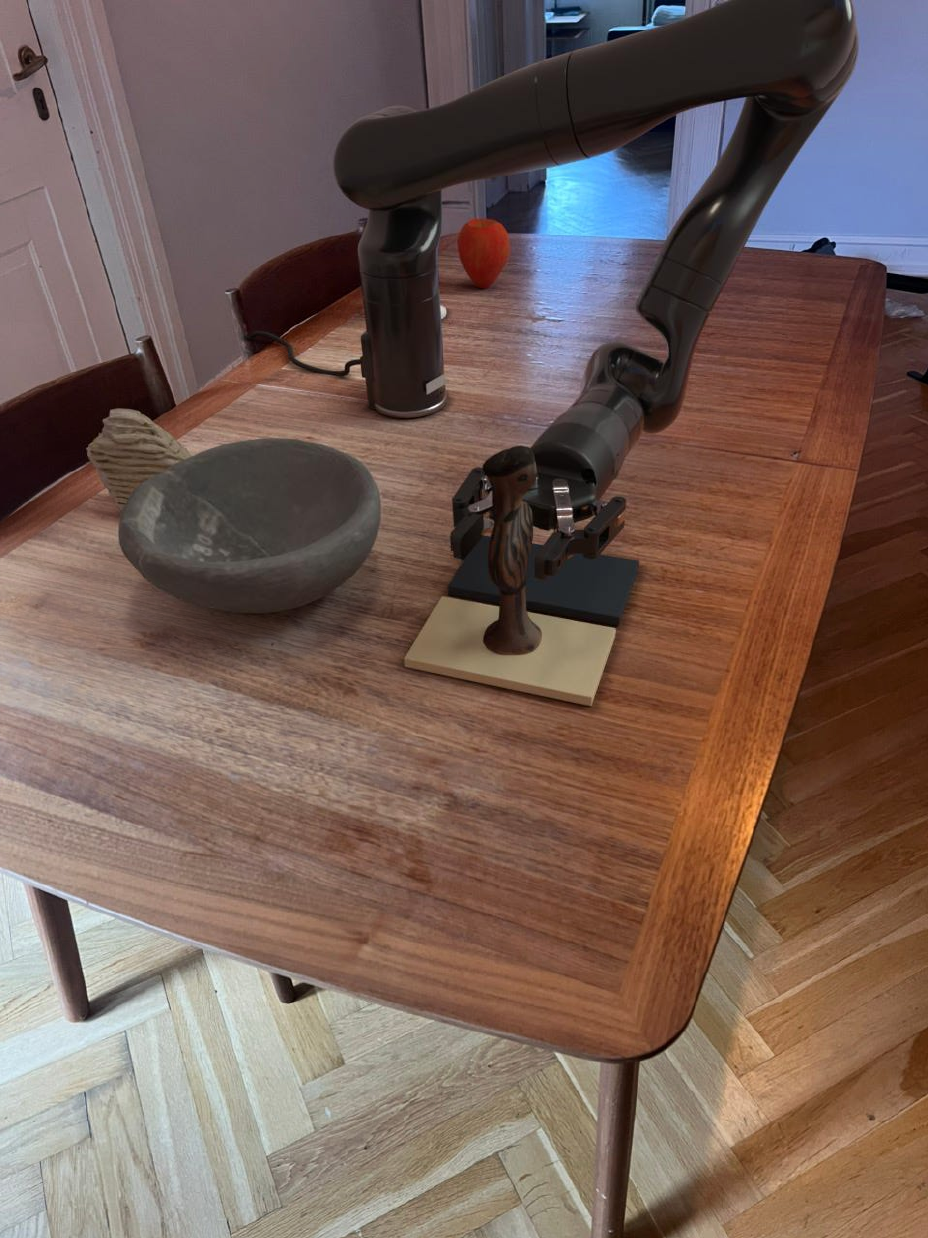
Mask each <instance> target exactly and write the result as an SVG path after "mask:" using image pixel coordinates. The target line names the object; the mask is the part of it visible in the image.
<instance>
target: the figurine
mask: <svg viewBox="0 0 928 1238" xmlns="http://www.w3.org/2000/svg"><path fill="white" fill-rule="evenodd" d="M482 468H483V471H484V474H485V475H486V477H488V479H489V481H490V484H491V487H492V505H493V506H492V507H493V516H494V520H495V521H494V527H493V530H492V531H491V534H490V536H491V540H490V542H489V553H488V568H489V575H490V579H491V581H492V582H493V584H494V585H495V586H496V587H497V588H499V589H500V598H499V604H498V605H499V606H498V607H499V619H498V620H496V621H494V622H493V623H492V624H490V625H489V626H488V627H487V629H486V631H485V634H484V637H483V643H484V644H485V646H486V648H488V649H489V650H490V651H492V652H494V653H496V654H502V655H513V654H514V655H519V654H527V653H530V652H533V651H534V650H535V649H536V648H537V647H538V646H539V644H540V642H541V639H542V632H541V629H540V628H539V626H538V625H536V624H535V623H534V622H532V621H531V619H530V618H529V616H528V614H527V612H528V611H527V610H528V609H526V568H527V562H528V558H529V554H530V551H531V545H532V543H533V539H534V526H533V519H532V510H531V508H530V506H529V504H528V503H526V502H524V501H522V499H523V496H524V495H525V493H526V492H527V491H528V490H529V489H530V488H531V486H532V485H533V484H534V483H535V481H536V478H537V469H536V463H535V458H534V454H533V451H532V450H531V449H530V446H526V445H514V446H512V447H510V448H506V449H503V450H500V451H498V452H496V453H495V454H492V456H490V457H489V458H487V459H486V460H485V461H484V462H483V464H482Z"/></svg>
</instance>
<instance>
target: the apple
mask: <svg viewBox="0 0 928 1238" xmlns="http://www.w3.org/2000/svg"><path fill="white" fill-rule="evenodd" d="M456 245H457V249H458V250H457V251H458V256H459V260H460V263H461V264H462V267H463V270H464V271H465V273H466V274H467V276H468V277H469V280H471V282H472V283H473V284H474V286H475V287H477V288H478V289H484V290H485V289H488V288H490V287H491V286H492V285H493V284H494V283H495V282H496V280H497V278H498V277H499V276H500V275H501V272H502V271H503V269H504V268H505V266H506V264H507V262H508V260H509V258H510V254H511V241H510V237H509V235H508V232H507V230H506V229H505V227H504V226H503V224H502V223H500V222H498V221H496V220H495V219H489V218H483V217H482V218H473V219H470V220H469V221H466V223H465V224H463V226H462V227H461V229H460V231H459V233H458V238H457V241H456Z"/></svg>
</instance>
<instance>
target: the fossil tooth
mask: <svg viewBox="0 0 928 1238" xmlns="http://www.w3.org/2000/svg"><path fill="white" fill-rule="evenodd" d="M102 423H103V428H102V429H101V430H102V431H101V432H99V433H98V436H97V437H95V438H94V439H93V440H92V442H90V443H89V444H88V447H86V448H85V450H86V451H87V452H86V454H87V458H88V460H89V461H90V462H91V463H92V465H93V467H94V468H96V469H97V474H98V478H99V479H100V481H101V483H102V485H103V487H104V488H106V489H107V490H108V495H109V496H110V498H112V499H113V501H114V504H115V505H116V506H117V508H118V509H120V510H121V511H122V509H123V507H124V505H125V504H126V502H127V500H128V498H129V496H130V495H131V493H132V491H133V490H134V489H135V488H136V487H137V486H139V485H140V484H141V483H143V482H144V481H146V480H148V479H149V478H151V477H153V476H155V475H158V474H160V473H162V472H165V471H166V470H167V469H168V468H169V467H171V466H172V465H174V464H176V463H178V462H180V461H182V460H185V459H188V458H190V457H192V456H193V454H191V452H190V451H189V450H188V449H187V448H185V447H184V446H183V445H182V444H181V443H180V441H178V439H176V438H175V437H173V436H172V435H171V433H169V432H168V431H166V430H165V429H164V428H162V427H161V426H160V425H158V424H156V422H153V420H152V419H151V418H150V417H148V416H146V415H145V414H144V413H142V412H140V411H139V410H135V409H131V408H119V407H118V408H113V409H110V410H109V415H108V416H107V417H106V418H103V419H102Z"/></svg>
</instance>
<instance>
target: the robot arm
mask: <svg viewBox="0 0 928 1238" xmlns="http://www.w3.org/2000/svg"><path fill="white" fill-rule="evenodd" d="M854 7H855V6H854V3H853V0H726V1H723V2H720V3H719V4H716V5H713V6H712V7H709V8H707V9H705V10H702V11H700V12H697V13H695V14H692V15H689V16H688V17H687V16H686V17H685V18H682V19H679V20H676V21H673V22H670V23H666V24H662V25H659V26H656V27H652V28H648V29H644V30H642V31H638V32H634V33H631V34H628V35H625V36H622V37H621V36H620V37H618V38H615V39H612V40H608V41H605V42H601V43H597V44H595V45H590V46H586V47H583V48H579V49H576V50H572V51H569V52H566V53H562V54H559V55H556V56H553V57H549V58H547V59H543V60H540V61H537V62H534V63H532V64H529V65H527V66H523V67H522V68H519V69H517V70H514V71H512V72H509V73H507V74H505V75H502V76H501V77H498V78H496V79H494V80H491V81H490V82H488V83H486V84H483V85H482V86H479V87H477V88H476V89H473V90H472V91H470V92H468V93H465V94H463V95H462V96H460V97H457V98H455V99H453V100H451V101H449V102H446V103H443V104H440V105H437V106H433V107H429V108H424V109H420V110H416V109H414V108H412V107H410V106H407V105H406V106H405V105H390V106H387V107H383V108H382V109H379V110H376V111H373V112H371V113H368V114H367V115H364V116H362V117H360V118H358V119H356V120H355V121H353V123H351V124H349V126H348V127H347V128H346V129H345V131H344V132H343V133H342V134H341V136H340V137H339V139H338V141H337V142H336V143H337V144H336V145H335V150H334V153H333V157H332V171H333V177H334V180H335V182H336V184H337V186H338V188H339V189H340V191H341V192H342V194H343V195H344V196H345V197H346V198H348V200H349V201H351V202H352V203H354V204H355V205H357V207H358V206H359V207H361V208H363V209H366V210H368V215H367V220H366V225H365V228H364V231H363V233H362V235H361V238H360V239H359V242H358V245H357V259H358V267H359V268H358V269H359V276H360V284H361V285H360V286H361V294H362V302H363V312H364V322H365V329H366V330H365V331H364V332H363V333H362V334H361V336H360V344H361V345H360V347H361V355H360V357H359V358H356V359H351V360H348V361H347V362H346V363H345V364H344V369H343V370H329V369H323V368H319V367H315V366H312V365H309V364H307V363H304V362H302V361H299V360H298V359H296V358H295V355H294V351H293V350H294V349H293V347H292V345H291V344H290V343H289V342H288V341H287V340H285V339H283V338H281V337H279V336H277V335H275V334H273V333H270V332H268V331H263V330H256V331H255V330H254V331H252V332H251V333H250V334H249V335H248V336H247V339H246V340H247V341H248V340H249V341H252V340H253V339H254V338H256V337H265V338H268V339H270V340H271V341H275V342H276V343H279V344H280V345H282V346H283V347H285V348H286V350H287V357H288V359H289V361H290V362H291V363H292V364H293V365H294V366H296V367H298V368H301V369H302V370H306V371H309V372H311V373H316V374H319V375H328V376H335V377H345V376H348V375H349V374H350V371H351V367H354V366H359V365H360V373H361V378H363V379H364V380H365V381H364V382H365V388H366V396H367V397H366V398H367V406H368V409H372V410H376V411H377V412H378V413H379V414H382V415H384V416H388V417H391V418H399V419H412V418H420V417H425V416H428V415H431V414H434V413H436V412H438V411H440V410H441V409H442V408H444V407H445V405H446V403H447V391H446V384H447V383H446V373H445V363H444V362H445V361H444V360H445V359H444V343H443V328H442V319H441V308H440V305H441V293H440V276H439V275H440V274H439V256H438V252H439V251H438V250H439V245H440V241H441V236H442V231H443V191H442V190H444V189H447V188H450V187H453V186H457V185H460V184H465V183H469V182H474V181H475V182H476V181H481V180H488V179H494V178H502V177H508V176H514V175H519V174H525V173H530V172H535V171H539V170H540V171H541V170H545V169H551V168H555V167H560V166H565V165H568V164H572V163H577V162H582V161H584V160H589V159H592V158H593V159H594V158H596V157H598V156H602V155H605V154H607V153H610V152H613V151H615V150H617V149H620V148H621V147H624V146H625V145H627V144H629V143H630V142H632V141H634V140H636V139H637V138H639V137H641V136H642V135H644V134H645V133H647V132H649V131H650V130H652V129H654V128H655V127H657V126H658V125H660V124H662V123H664V122H665V121H666V120H668V119H670V118H672V117H675V116H677V115H679V114H682V113H684V112H687V111H689V110H693V109H696V108H700V107H702V106H703V107H704V106H708V105H713V104H717V103H718V104H719V103H723V102H728V101H732V100H737V99H744V103H743V105H742V108H741V112H740V114H739V117H738V120H737V121H736V125H735V127H734V130H733V132H732V134H731V136H730V139H729V141H728V142H727V145H726V147H725V149H724V151H723V152H722V154H721V156H720V158H719V160H718V161H717V163H716V164H715V166H714V168H713V170H712V171H711V172H710V174H709V175H708V176H707V178H706V180H705V181H704V182H703V184H702V185H701V187H700V188H699V190H698V191H697V192H696V193H695V195H694V196H693V197H692V199H691V200H690V201H689V203H688V204H687V206H686V207H685V208H684V210H683V211H682V213H680V216H679V217H678V218H677V220H676V222H675V223H674V225H673V227H672V229H671V230H670V232H669V234H668V236H667V237H666V239H665V241H664V243H663V245H662V247H661V249H660V251H659V253H658V255H657V257H656V259H655V262H654V263H653V266H652V268H651V269H650V272H649V273H648V275H647V278H646V280H645V283H644V284H643V286H642V288H641V291H640V292H639V295H638V297H637V300H636V302H635V313H636V315H637V317H638V318H639V319H640V320H641V321H643V323H645V324H646V325H647V326H648V327H650V328H652V329H653V330H654V331H655V332H657V333H658V334H659V335H660V336H661V337H662V339H663V340H664V342H665V345H666V351H667V353H666V354H667V355H666V359H665V360H662V359H661V358H659V357H657V356H655V355H653V354H650V353H649V352H646V351H644V350H642V349H640V348H638V347H636V346H633V345H632V344H630V343H628V342H624V341H621V340H612V341H607V342H605V343H603V344H601V345H599V346H598V347H597V348H596V349H595V350H594V351H593V352H592V354H591V355H590V357H589V359H588V360H587V363H586V366H585V368H584V371H583V374H582V378H581V382H580V390H579V394H578V396H577V398H576V399H575V401H573V402H572V404H571V405H570V406H569V407H568V409H566V410H565V411H564V412H562V413H561V414H560V415H559V416H558V417H556V418H555V419H554V420H553V421H552V422H551V423H550V425H549V426H548V427H547V428H546V429H544V432H543V433H542V434H540V435H539V437H538V438H537V439H536V440H535V441H534V443H532V444H531V446H529V448H530V449H531V450H532V451H533V454H534V458H535V463H536V469H537V478H536V481H535V483H534V484H533V485H532V486H531V488H530V489H529V490H528V491H527V492H526V493H525V495H524V496H523V499H522V501H524V502H526V503H528V504H529V506H530V508H531V510H532V519H533V528H536V529H539V530H543V531H547V532H550V531H551V530H553V532H552V533H551V534H550V535H549V537H548V539H547V540H546V541H545V543H544V544H542V545H543V547H542V548H541V549H540V551H539V552H538V553H537V555H536V558H535V571H534V577H535V579H538V580H542V581H545V580H546V578H547V577H548V575H549V576H554V575H555V574H557V573H558V571H559V570H560V568H561V567H562V565H563V564H564V563H565V561H566V560H567V558H571V557H573V555H574V554H576V553H580V554H583V557H584V558H586V559H595V558H597V557H598V556H599V555H600V554H602V552H603V551H604V550H605V549H607V547H608V546H609V545H610V544H611V543H612V542H613V541H614V540H615V538H616V537H617V536H618V535H619V534H620V532H622V530H623V529H624V528H625V521H626V513H627V511H626V510H627V499H626V498H625V497H624V496H613V497H612V498H610V500H609V501H605V500H602V497H603V496H604V495H605V493H606V492H607V490H608V489H609V487H610V486H611V484H613V481H615V480H616V479H617V478H618V476H619V474H620V471H621V469H622V467H623V466H624V463H625V460H626V458H627V457H628V455H629V454H630V452H631V451H632V449H633V448H634V447H635V445H636V444H637V442H638V441H639V439H640V438H641V436H642V433H645V434H650V435H655V434H659V433H661V432H663V431H665V430H666V429H668V428H669V427H670V426H671V425H673V424H674V422H675V421H676V420H677V418H678V417H679V414H680V413H681V410H682V408H683V405H684V400H685V397H686V393H687V388H688V382H689V378H690V373H691V369H692V363H693V359H694V356H695V352H696V349H697V347H698V343H699V340H700V338H701V334H702V332H703V329H704V327H705V325H706V323H707V321H708V319H709V318H710V315H711V312H713V309H714V307H715V305H716V303H717V302H718V300H719V297H720V295H721V293H722V292H723V289H724V287H725V286H726V284H727V282H728V280H729V278H730V276H731V274H732V272H733V270H734V268H735V266H736V264H737V262H738V261H739V258H740V256H741V254H742V252H743V250H744V248H745V246H746V244H747V242H748V241H749V239H750V236H751V235H752V233H753V231H754V229H755V227H756V225H757V223H758V222H759V219H760V217H761V215H762V214H763V212H764V210H765V208H766V206H767V205H768V203H769V202H770V199H771V197H772V196H773V194H774V192H775V191H776V189H777V187H778V186H779V184H780V182H781V181H782V179H783V178H784V176H785V175H786V173H787V171H788V170H789V169H790V166H791V165H792V163H793V162H794V160H795V159H796V157H797V156H798V154H799V153H800V151H801V149H802V148H803V147H804V145H805V144H806V142H807V141H808V139H809V138H810V137H811V135H812V134H813V133H814V131H815V130H816V128H817V127H818V125H819V124H820V123H821V121H822V120H823V119H824V117H825V116H826V114H827V113H828V111H829V110H830V108H831V107H832V105H833V104H834V103H835V101H836V100H837V98H838V97H839V96H840V94H841V93H842V91H843V90H844V88H845V87H846V85H847V84H848V82H850V79H851V77H852V75H853V73H854V71H855V68H856V64H857V61H858V56H859V43H860V39H859V30H858V27H857V26H858V25H857V21H856V20H857V18H856V12H855V8H854ZM451 504H452V506H451V507H452V523H453V527H454V528H453V529H452V530H451V531H450V535H449V541H450V542H449V543H450V552H452V555H453V556H452V557H453V559H455V560H458V561H463V560H464V559H465V558H466V557H467V555H468V554H469V553H470V552H471V551H472V549H473V548H474V547H475V546H476V545H477V543H478V542H479V541H480V540H481V539H482V535H485V536H486V535H487V534H489V533H492V530H493V527H494V521H495V520H494V516H493V507H492V506H493V505H492V487H491V484H490V481H489V479H488V477H487V476H486V475H485V474H484V471H483V467H474V468H472V469H471V470H470V472H469V473H468V474H467V476H466V477H465V479H464V480H463V482H462V483H461V485H460V486H459V488H458V489H457V490H456V492H455V493H454V495H453V496H452V498H451ZM487 513H489V515H488V517H487V518H485V517H484V515H485V514H487ZM592 517H593V518H592ZM590 518H591V520H590V521H589V522H588V523H587V524H586V525H585V526H584V528H583V529H576V527H575V524H577V523H579V522H582V521H586V520H588V519H590Z"/></svg>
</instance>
